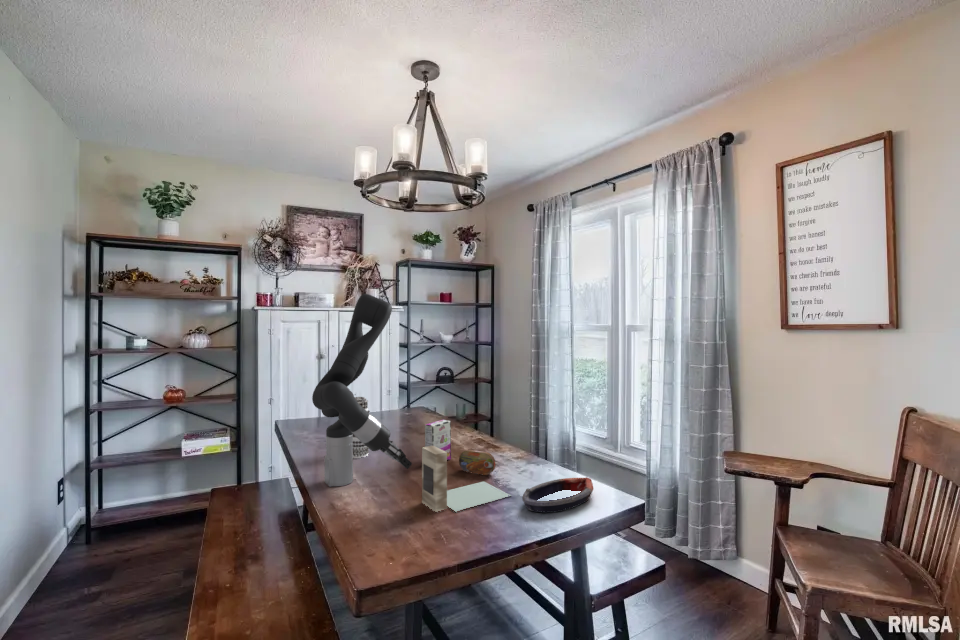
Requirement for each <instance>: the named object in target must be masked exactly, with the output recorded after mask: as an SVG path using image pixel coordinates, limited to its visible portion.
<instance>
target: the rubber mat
mask: <svg viewBox="0 0 960 640" xmlns="http://www.w3.org/2000/svg"><path fill="white" fill-rule="evenodd" d="M508 495H509V496H511V497H512V495H511V494H510V493H507V492H505V491H503V490H501V489H500V488H497V487H495V486H493V485H492V484H490V483H488V482H486V481H480V482H476V483H471V484H468V485H464V486H459V487H456V488H452V489H451V488H450V489H447V506H448V507H449V508H451V509H452V510H454V511H455V512H456V513H458V512H457V511H460V510H463V509H466V508H470V507H474V506H477V505H481V504H484V505H486V504H485V503H488V502H491V503H493V502H492V501H495V500H498V499H502V498H505V497H508ZM505 499H506V498H505ZM502 500H503V499H502ZM498 501H499V500H498ZM495 502H496V501H495ZM488 504H489V503H488ZM481 506H482V505H481ZM448 507H447V508H448ZM477 507H478V506H477ZM449 508H448V509H449ZM474 508H475V507H474ZM451 509H450V510H451ZM470 509H471V508H470ZM452 510H451V511H452ZM454 511H453V512H454ZM463 511H464V510H463ZM455 512H454V513H455ZM460 512H461V511H460Z"/></svg>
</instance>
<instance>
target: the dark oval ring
mask: <svg viewBox="0 0 960 640" xmlns="http://www.w3.org/2000/svg"><path fill="white" fill-rule="evenodd" d="M562 490H571V491H581V492H580V493H578V494H576V495H573V496H570V497H566V498H562V499H557V500H549V501H537V500H538V499H540V498H542V497H544V496H547V495H549V494H553V493H555V492H558V491H562ZM593 491H594V483H593V481H592V478H590V477H587V476H586V477H567V478H558V479H553V480H550V481H545V482H542V483H540V484H537V485H535V486H532V487H530V488H526V489H525V491H524V492H523V494H522V497H521V498H522V502H523V503H524V506H525V507H526V508H527V509H528V510H530V511H531V512H537V513H555V512H554V511H556V512H562V511H565V509H566V510H569V508H570V509H572V507H573V508H575V507H577V506H579V505H582V504H583V503H585V502H587V501H588V500H589V499H590V497H591V495H592V493H593ZM561 510H562V511H561Z"/></svg>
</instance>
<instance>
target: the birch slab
mask: <svg viewBox="0 0 960 640" xmlns="http://www.w3.org/2000/svg"><path fill="white" fill-rule="evenodd" d="M447 490H448V461H447V452H445V451H443V450H441V449H439V448H437V447H435V446H428V447H425V446H424V447H421V503H422V504H423V505H424V504H425V505H424V506H426V507H427V506H428V507H429V508H428V507H427V508H428V509H430V510H431V509H432V510H431V511H433V512H434V511H435V512H437V513H439V512H438V511H440V512H442V511H441V510H444V509H448V507H447ZM444 511H445V510H444ZM435 512H434V513H435Z"/></svg>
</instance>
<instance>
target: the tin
mask: <svg viewBox="0 0 960 640" xmlns="http://www.w3.org/2000/svg"><path fill="white" fill-rule="evenodd" d="M458 464H459V467H460V468H461V470H462V471H463V472H465V471H467V472H466V473H468V472H472V473H471V474H474V473H478V474H477V475H479V474H483V475H482V476H488V475H491V473H493V472H494V470H495V469H496V460H495V457H494V455H492V453H490V452H486V451H482V450H481V451H479V450H474V449H473V450H472V449H468V450H464V451H462V452H461V453H460V455H459V457H458Z"/></svg>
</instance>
